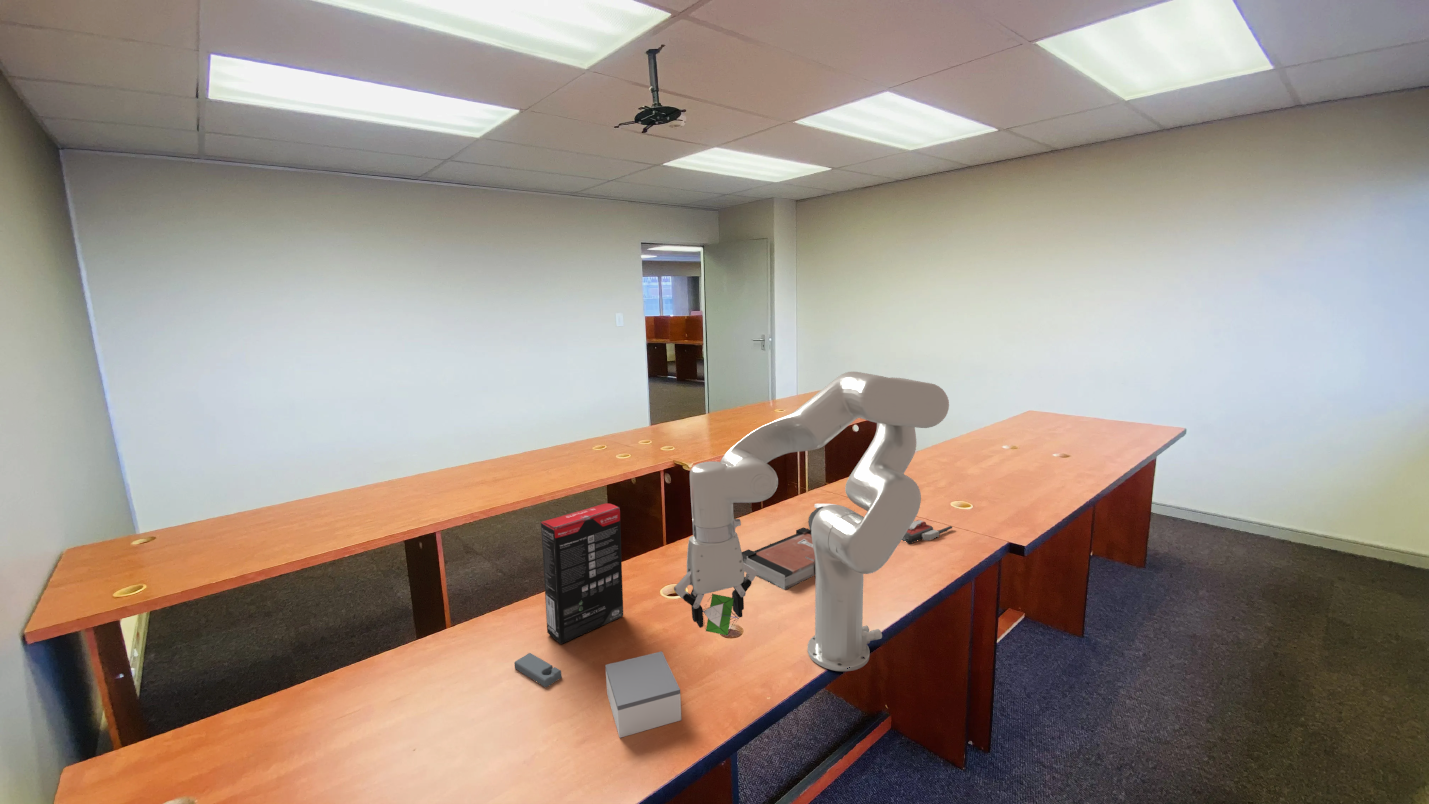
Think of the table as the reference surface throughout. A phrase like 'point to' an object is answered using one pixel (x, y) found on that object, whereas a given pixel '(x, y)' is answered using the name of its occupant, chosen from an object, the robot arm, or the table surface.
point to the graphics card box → (582, 571)
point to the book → (784, 560)
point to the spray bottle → (812, 515)
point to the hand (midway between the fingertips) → (718, 618)
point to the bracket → (538, 669)
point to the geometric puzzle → (719, 614)
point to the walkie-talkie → (922, 532)
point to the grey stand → (642, 693)
